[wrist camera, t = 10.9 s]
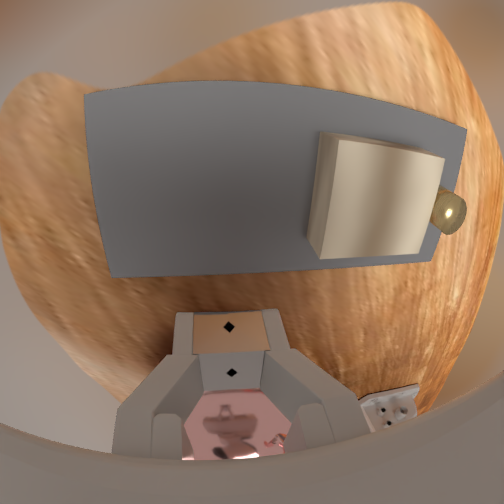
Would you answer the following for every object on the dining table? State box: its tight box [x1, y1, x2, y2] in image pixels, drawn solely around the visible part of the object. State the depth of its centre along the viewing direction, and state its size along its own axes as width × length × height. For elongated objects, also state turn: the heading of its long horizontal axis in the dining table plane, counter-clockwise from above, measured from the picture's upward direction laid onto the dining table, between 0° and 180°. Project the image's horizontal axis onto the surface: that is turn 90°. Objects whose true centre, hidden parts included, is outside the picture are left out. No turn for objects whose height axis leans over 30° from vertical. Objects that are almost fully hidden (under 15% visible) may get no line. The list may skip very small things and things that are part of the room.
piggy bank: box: [159, 311, 292, 460], centre depth 23 cm, size 15×18×16 cm
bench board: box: [84, 81, 467, 278], centre depth 20 cm, size 30×14×2 cm, turn 87°
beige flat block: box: [306, 132, 445, 259], centre depth 19 cm, size 9×8×3 cm
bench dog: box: [429, 184, 467, 235], centre depth 19 cm, size 3×3×4 cm
